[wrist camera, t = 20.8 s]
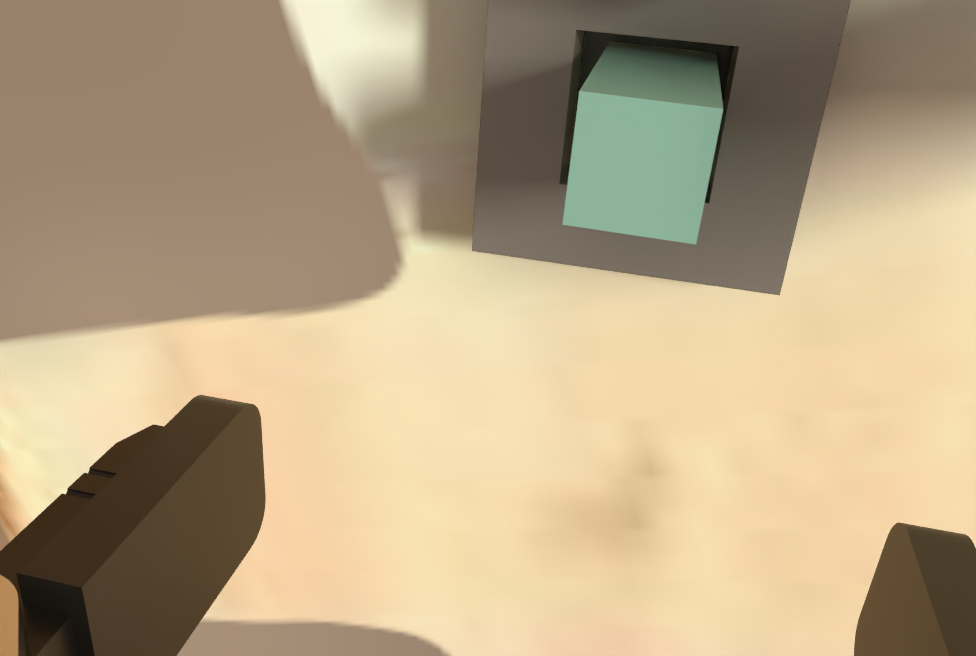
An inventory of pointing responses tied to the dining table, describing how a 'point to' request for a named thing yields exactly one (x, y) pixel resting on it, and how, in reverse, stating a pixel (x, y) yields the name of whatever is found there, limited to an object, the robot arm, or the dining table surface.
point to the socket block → (739, 149)
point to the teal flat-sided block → (645, 142)
